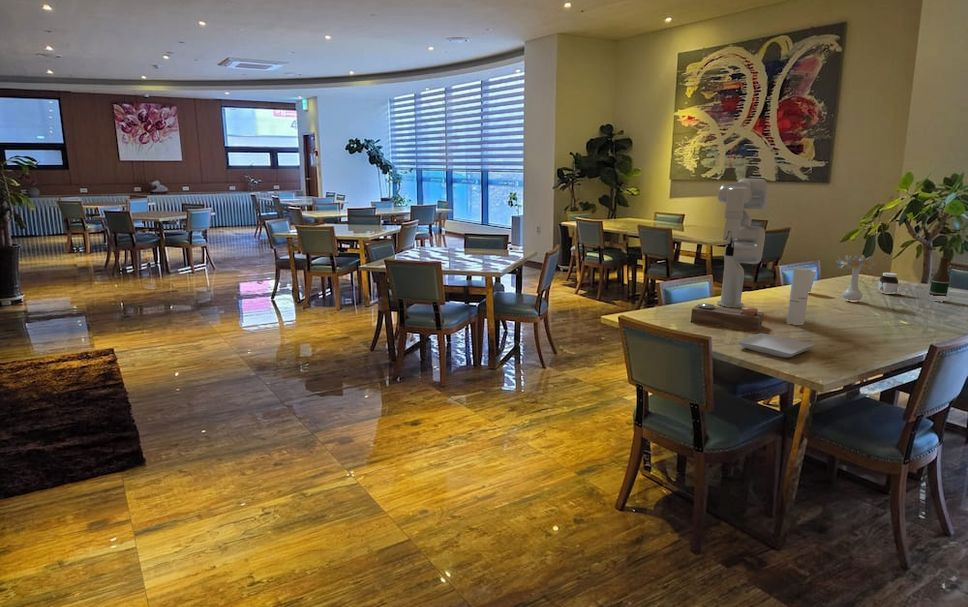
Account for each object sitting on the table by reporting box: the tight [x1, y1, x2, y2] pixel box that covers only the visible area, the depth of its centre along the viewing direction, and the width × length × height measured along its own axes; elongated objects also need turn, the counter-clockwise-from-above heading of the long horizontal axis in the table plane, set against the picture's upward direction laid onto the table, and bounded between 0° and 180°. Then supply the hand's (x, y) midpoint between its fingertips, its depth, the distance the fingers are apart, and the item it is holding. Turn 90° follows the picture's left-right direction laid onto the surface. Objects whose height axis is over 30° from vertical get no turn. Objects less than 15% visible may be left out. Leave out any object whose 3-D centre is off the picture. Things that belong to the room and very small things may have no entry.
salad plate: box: [736, 332, 815, 359], centre depth 237 cm, size 21×21×3 cm
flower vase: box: [835, 254, 877, 301], centre depth 325 cm, size 13×18×25 cm
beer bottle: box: [928, 256, 951, 297], centre depth 331 cm, size 8×8×24 cm
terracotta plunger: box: [741, 306, 759, 316], centre depth 270 cm, size 6×6×6 cm
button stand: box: [690, 303, 764, 332], centre depth 275 cm, size 12×28×6 cm, turn 58°
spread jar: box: [877, 272, 904, 293], centre depth 348 cm, size 12×11×12 cm
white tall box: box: [786, 267, 813, 326], centre depth 275 cm, size 7×7×25 cm
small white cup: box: [698, 302, 715, 310], centre depth 279 cm, size 6×6×6 cm
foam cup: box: [809, 268, 817, 293], centre depth 347 cm, size 10×9×13 cm
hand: (729, 255), depth 282 cm, fingers closed
